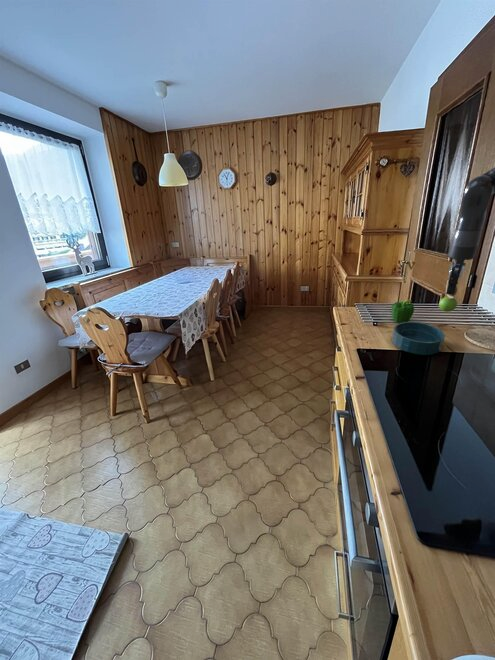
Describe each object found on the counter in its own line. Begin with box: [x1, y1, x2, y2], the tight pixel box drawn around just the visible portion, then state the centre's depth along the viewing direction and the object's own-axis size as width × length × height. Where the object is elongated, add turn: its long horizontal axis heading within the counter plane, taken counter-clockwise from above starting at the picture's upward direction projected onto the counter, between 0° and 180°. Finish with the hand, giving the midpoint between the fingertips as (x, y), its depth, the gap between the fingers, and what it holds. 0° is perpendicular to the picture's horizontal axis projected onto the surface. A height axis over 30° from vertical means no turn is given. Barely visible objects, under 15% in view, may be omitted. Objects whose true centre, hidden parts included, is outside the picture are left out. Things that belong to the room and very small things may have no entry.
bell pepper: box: [391, 299, 415, 324], centre depth 121 cm, size 8×8×10 cm
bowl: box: [391, 321, 446, 356], centre depth 105 cm, size 16×16×6 cm
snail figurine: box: [438, 276, 458, 313], centre depth 102 cm, size 5×6×12 cm
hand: (450, 291), depth 102 cm, fingers closed on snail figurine, 5 cm apart
